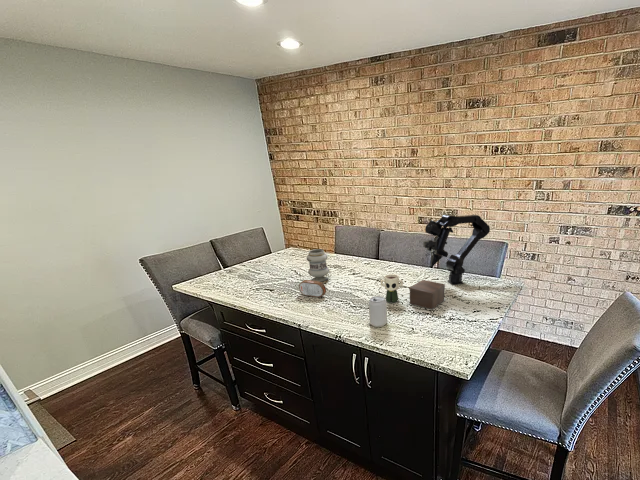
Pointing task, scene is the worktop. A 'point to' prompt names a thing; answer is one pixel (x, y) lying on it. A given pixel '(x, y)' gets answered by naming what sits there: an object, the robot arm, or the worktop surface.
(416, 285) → the chest lid
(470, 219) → the robot arm
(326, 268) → the apothecary jar
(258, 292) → the worktop surface
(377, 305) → the can
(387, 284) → the character mug
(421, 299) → the box
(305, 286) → the tin
